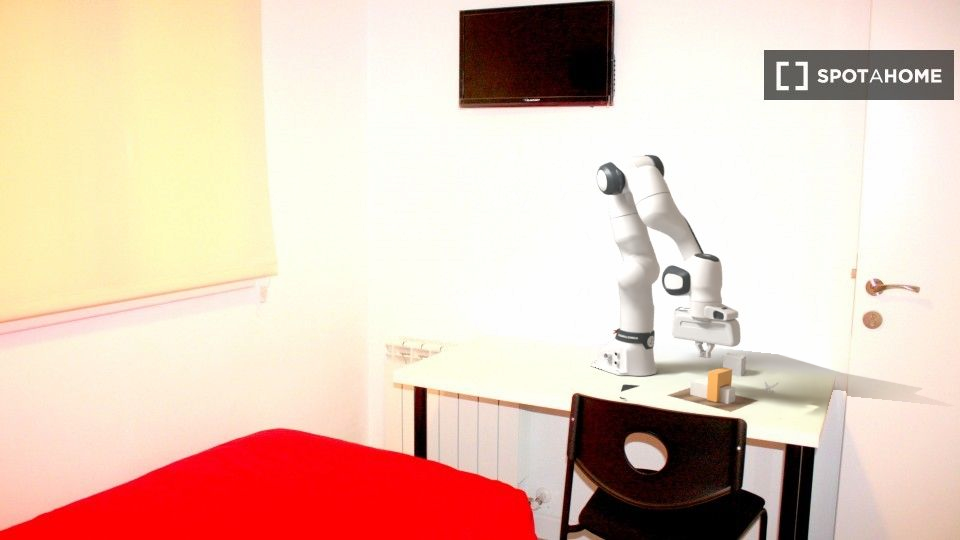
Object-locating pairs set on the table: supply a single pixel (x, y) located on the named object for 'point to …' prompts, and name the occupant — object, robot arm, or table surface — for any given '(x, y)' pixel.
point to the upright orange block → (718, 382)
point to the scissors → (769, 387)
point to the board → (730, 407)
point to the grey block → (735, 363)
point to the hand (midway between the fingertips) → (704, 357)
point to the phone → (627, 388)
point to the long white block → (700, 390)
